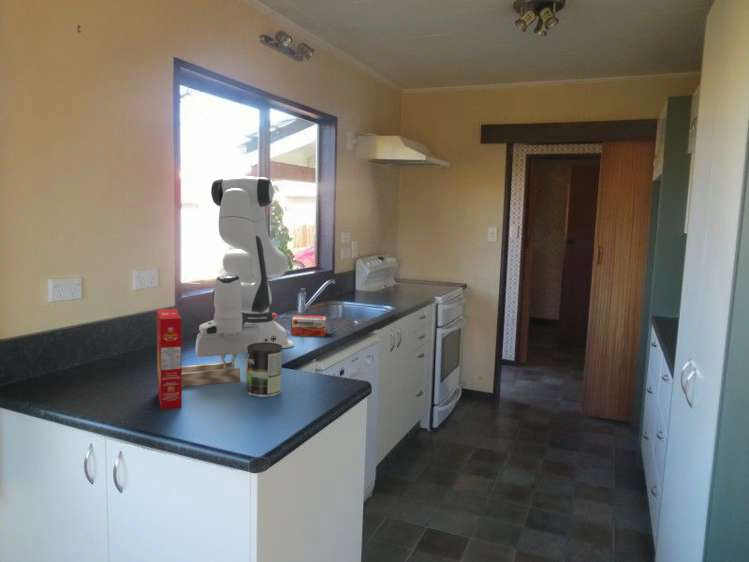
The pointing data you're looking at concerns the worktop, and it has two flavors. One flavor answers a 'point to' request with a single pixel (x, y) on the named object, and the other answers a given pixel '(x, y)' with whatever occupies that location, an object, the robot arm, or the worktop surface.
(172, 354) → the food packaging
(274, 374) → the coffee can
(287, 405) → the worktop surface
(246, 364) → the block
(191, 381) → the u-shaped frame
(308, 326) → the medicine box
